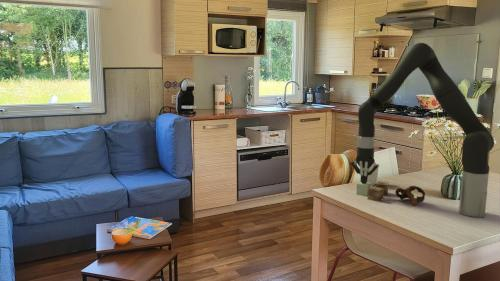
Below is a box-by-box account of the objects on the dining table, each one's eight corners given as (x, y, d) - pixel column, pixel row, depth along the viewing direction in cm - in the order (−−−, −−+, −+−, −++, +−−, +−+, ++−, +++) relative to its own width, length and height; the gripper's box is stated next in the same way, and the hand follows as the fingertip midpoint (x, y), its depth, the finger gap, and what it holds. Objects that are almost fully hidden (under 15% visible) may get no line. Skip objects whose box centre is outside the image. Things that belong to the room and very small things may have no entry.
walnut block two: (383, 199, 196) (383, 187, 195) (378, 201, 192) (379, 190, 191) (372, 196, 199) (373, 185, 198) (367, 199, 195) (368, 188, 194)
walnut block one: (387, 192, 205) (388, 181, 204) (386, 195, 200) (387, 184, 199) (376, 191, 207) (377, 180, 206) (375, 194, 202) (376, 183, 201)
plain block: (370, 193, 204) (371, 182, 203) (367, 196, 200) (367, 185, 199) (359, 191, 206) (360, 181, 206) (356, 194, 202) (356, 183, 201)
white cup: (360, 184, 218) (361, 165, 216) (361, 180, 225) (362, 161, 224) (377, 186, 216) (378, 166, 214) (377, 182, 223) (378, 162, 221)
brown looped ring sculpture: (418, 199, 196) (426, 186, 191) (419, 215, 189) (428, 202, 184) (391, 192, 197) (398, 179, 192) (392, 207, 190) (399, 193, 184)
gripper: (382, 146, 199) (380, 183, 202) (354, 143, 206) (352, 179, 209) (378, 148, 193) (375, 187, 196) (348, 145, 199) (347, 183, 202)
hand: (363, 183), depth 202 cm, fingers closed
